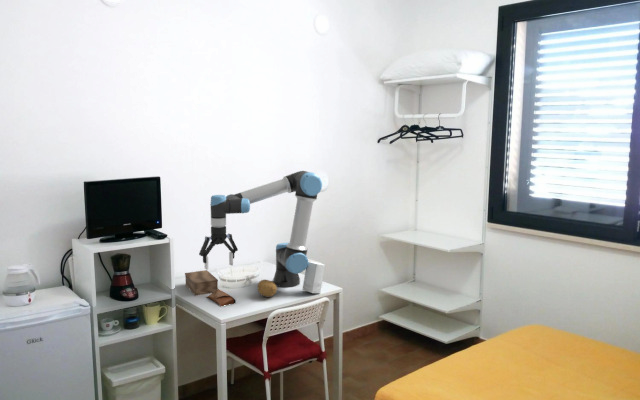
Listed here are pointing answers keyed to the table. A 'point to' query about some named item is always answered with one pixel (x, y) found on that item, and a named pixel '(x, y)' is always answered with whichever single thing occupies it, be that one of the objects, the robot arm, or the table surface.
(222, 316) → the table surface
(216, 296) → the sunglasses case
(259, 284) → the potato
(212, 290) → the walnut box
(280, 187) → the robot arm
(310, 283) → the skincare box
